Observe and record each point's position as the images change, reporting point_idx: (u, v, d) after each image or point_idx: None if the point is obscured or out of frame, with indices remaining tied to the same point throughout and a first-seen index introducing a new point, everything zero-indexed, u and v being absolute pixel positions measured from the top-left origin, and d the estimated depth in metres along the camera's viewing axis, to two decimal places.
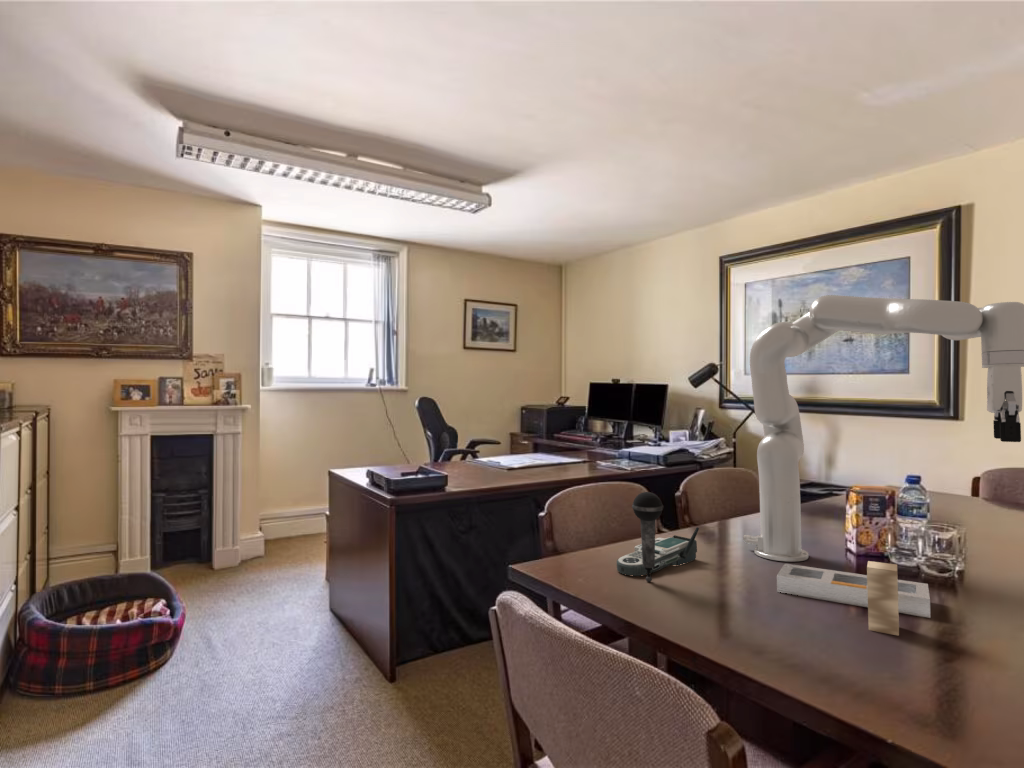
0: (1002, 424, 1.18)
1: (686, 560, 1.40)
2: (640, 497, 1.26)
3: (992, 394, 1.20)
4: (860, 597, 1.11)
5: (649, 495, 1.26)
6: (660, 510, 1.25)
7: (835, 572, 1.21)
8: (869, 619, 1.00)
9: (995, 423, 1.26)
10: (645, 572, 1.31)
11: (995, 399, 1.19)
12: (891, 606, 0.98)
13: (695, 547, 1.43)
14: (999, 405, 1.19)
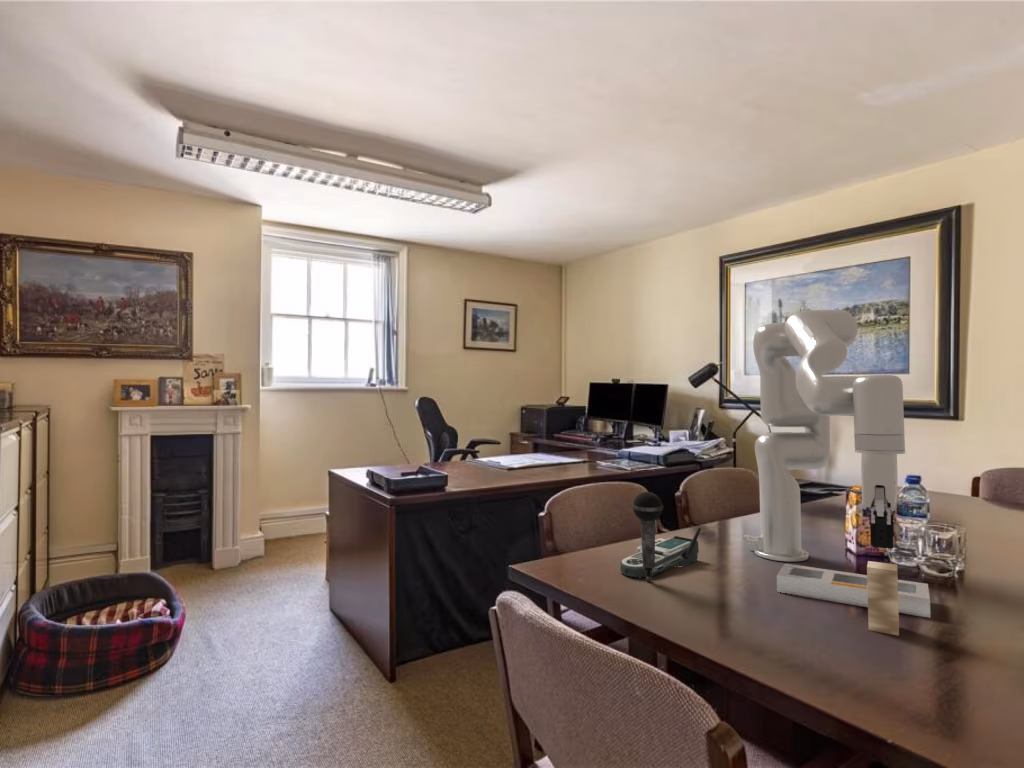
0: (872, 525, 0.97)
1: (688, 561, 1.40)
2: (640, 497, 1.26)
3: (862, 487, 0.99)
4: (860, 597, 1.11)
5: (648, 495, 1.26)
6: (660, 510, 1.25)
7: (835, 572, 1.21)
8: (869, 619, 1.00)
9: None
10: None
11: (864, 494, 0.98)
12: (891, 606, 0.98)
13: (696, 547, 1.42)
14: (869, 502, 0.98)
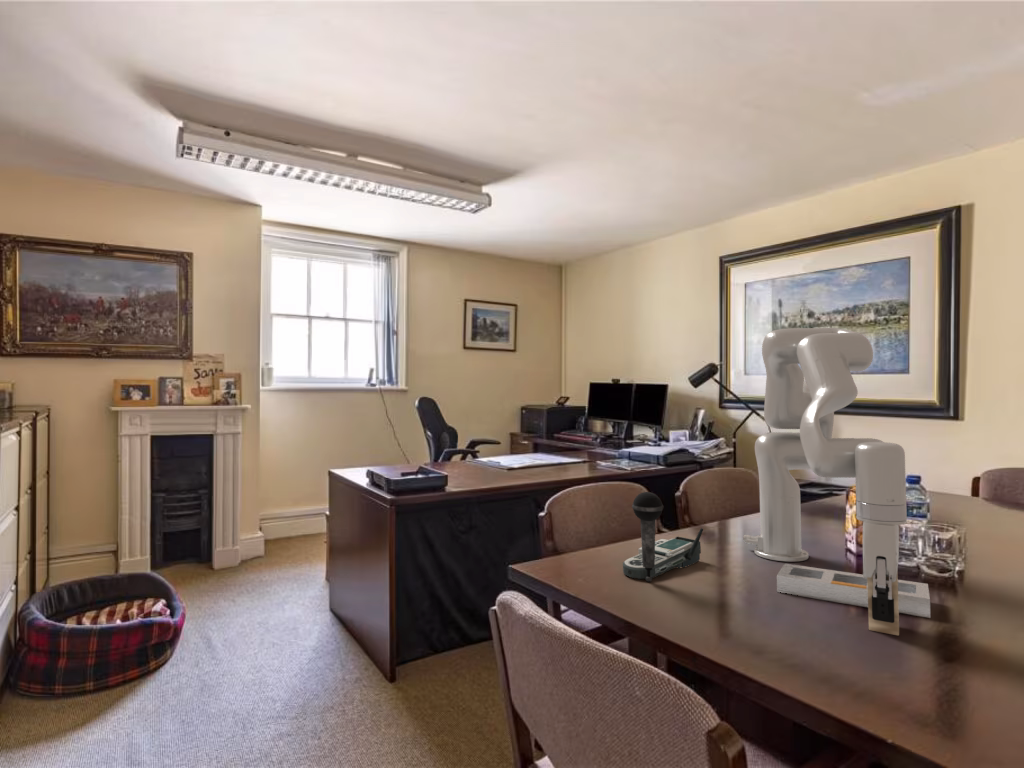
0: (874, 599, 0.99)
1: (690, 562, 1.39)
2: (640, 497, 1.26)
3: (863, 557, 0.99)
4: (860, 597, 1.11)
5: (648, 495, 1.26)
6: (660, 510, 1.25)
7: (835, 572, 1.21)
8: (869, 619, 1.00)
9: None
10: (653, 575, 1.29)
11: (866, 564, 0.98)
12: None
13: (699, 548, 1.41)
14: (870, 572, 0.98)
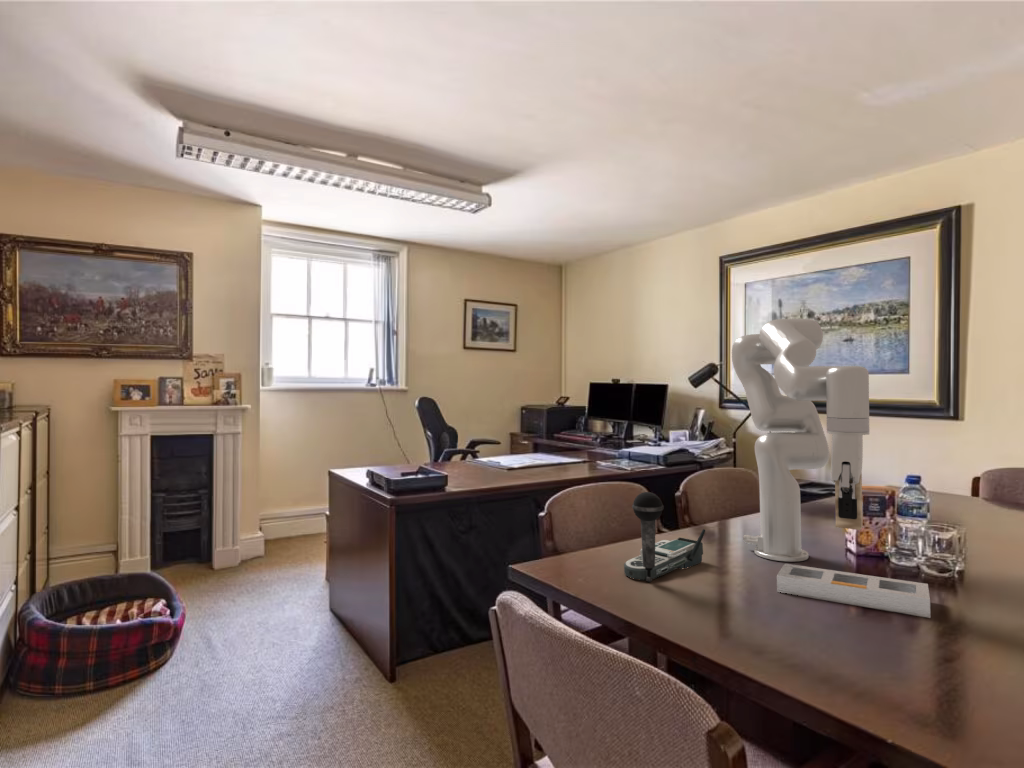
0: (840, 500, 1.14)
1: (692, 563, 1.38)
2: (640, 497, 1.26)
3: (831, 463, 1.14)
4: (860, 597, 1.11)
5: (649, 495, 1.26)
6: (660, 510, 1.25)
7: (835, 572, 1.21)
8: (836, 518, 1.15)
9: None
10: (654, 576, 1.28)
11: (833, 469, 1.13)
12: None
13: (701, 549, 1.40)
14: (836, 476, 1.13)
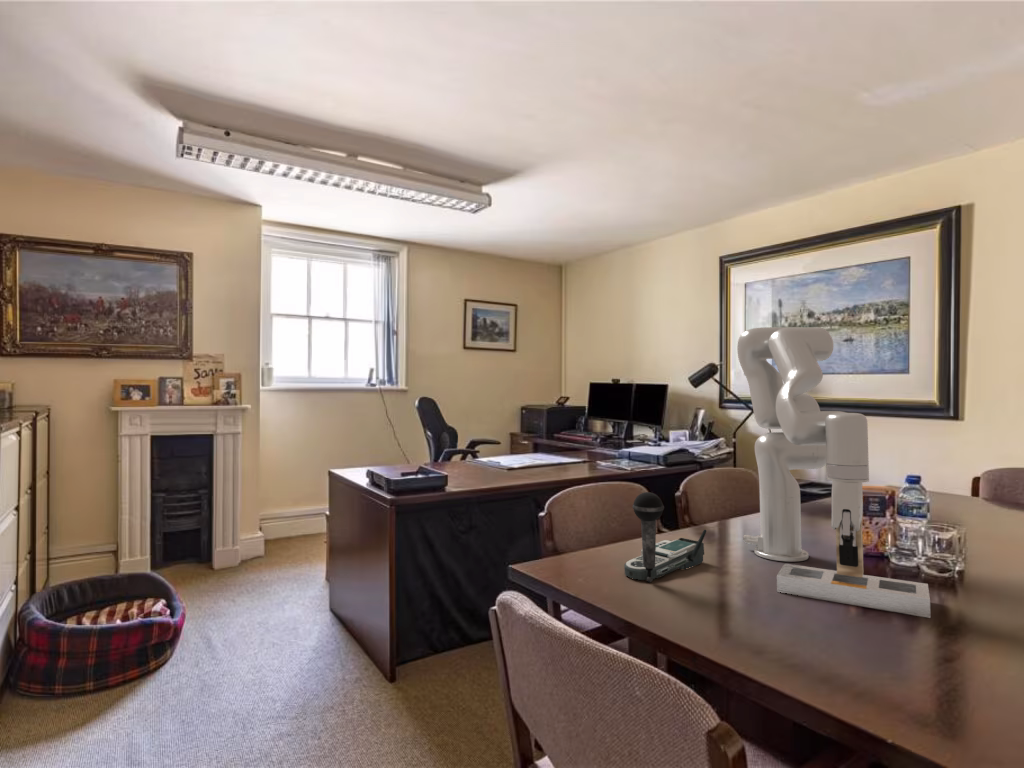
0: (841, 547, 1.15)
1: (693, 563, 1.38)
2: (641, 497, 1.26)
3: None
4: (860, 597, 1.11)
5: (649, 495, 1.25)
6: (661, 510, 1.25)
7: (835, 572, 1.21)
8: (837, 564, 1.16)
9: None
10: (654, 576, 1.28)
11: (833, 516, 1.14)
12: None
13: (702, 549, 1.40)
14: (837, 523, 1.13)
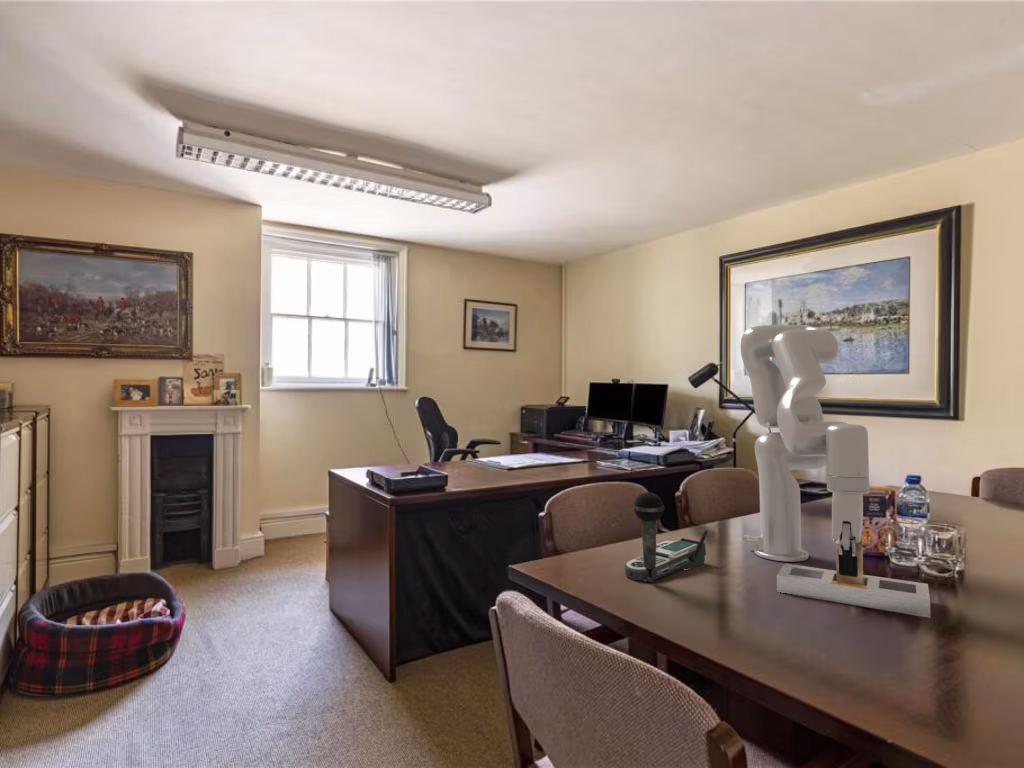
0: (840, 556, 1.13)
1: (695, 564, 1.37)
2: (641, 497, 1.25)
3: (832, 522, 1.14)
4: (860, 597, 1.11)
5: (649, 495, 1.25)
6: (661, 510, 1.24)
7: (835, 572, 1.21)
8: None
9: None
10: (654, 577, 1.28)
11: (834, 528, 1.14)
12: (856, 577, 1.14)
13: (703, 550, 1.40)
14: (837, 535, 1.13)
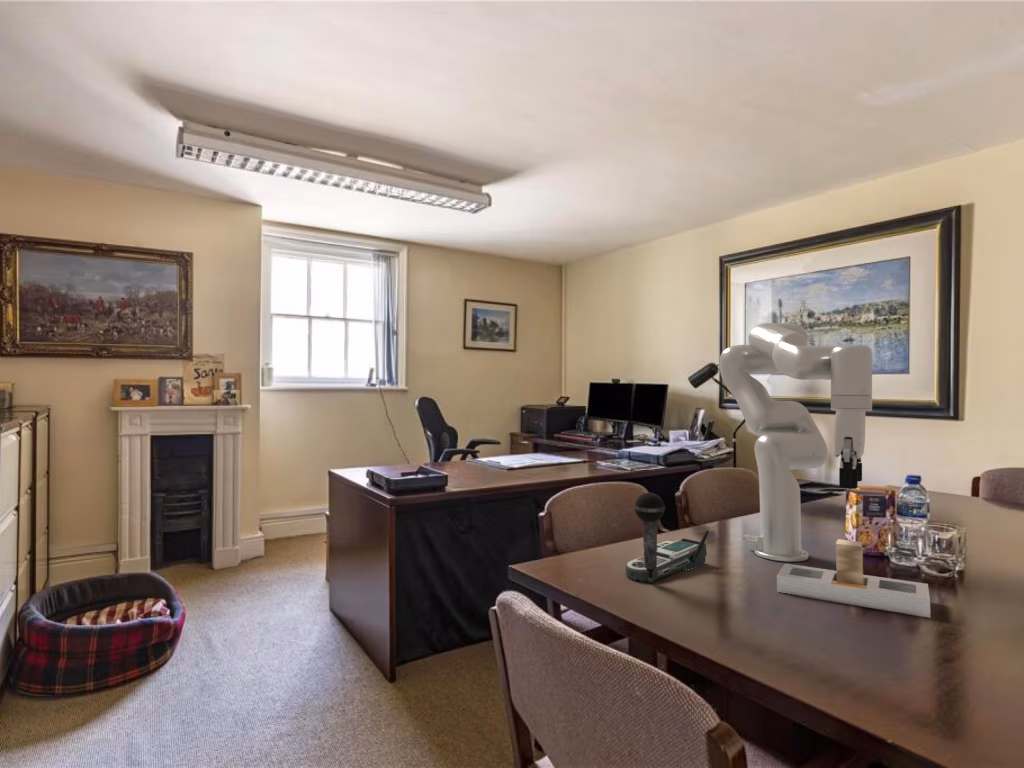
0: (841, 470, 1.17)
1: (696, 564, 1.37)
2: (642, 498, 1.25)
3: (834, 439, 1.18)
4: (860, 597, 1.11)
5: (650, 496, 1.25)
6: (662, 511, 1.24)
7: (835, 572, 1.21)
8: None
9: None
10: (655, 577, 1.27)
11: (836, 444, 1.18)
12: (856, 577, 1.14)
13: (704, 550, 1.39)
14: (839, 451, 1.17)
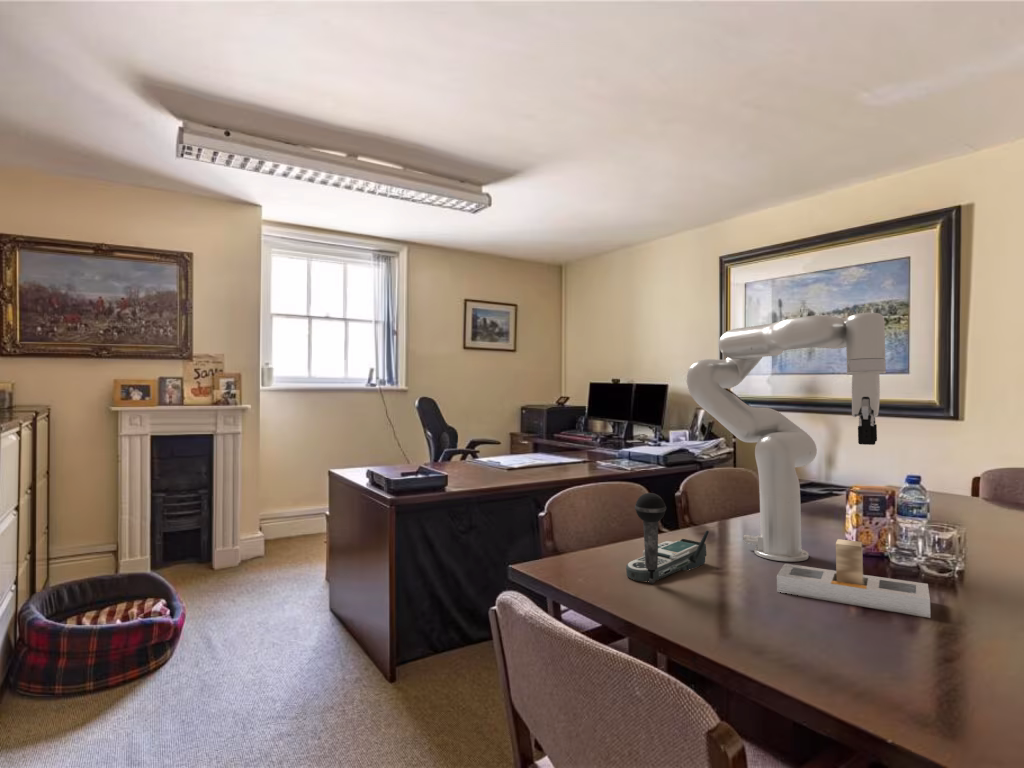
0: (859, 428, 1.26)
1: (696, 565, 1.37)
2: (643, 498, 1.25)
3: (852, 399, 1.27)
4: (860, 597, 1.11)
5: (651, 496, 1.24)
6: (663, 511, 1.24)
7: (835, 572, 1.21)
8: None
9: None
10: (656, 577, 1.27)
11: (854, 404, 1.26)
12: (856, 577, 1.14)
13: (704, 550, 1.39)
14: (857, 410, 1.26)
